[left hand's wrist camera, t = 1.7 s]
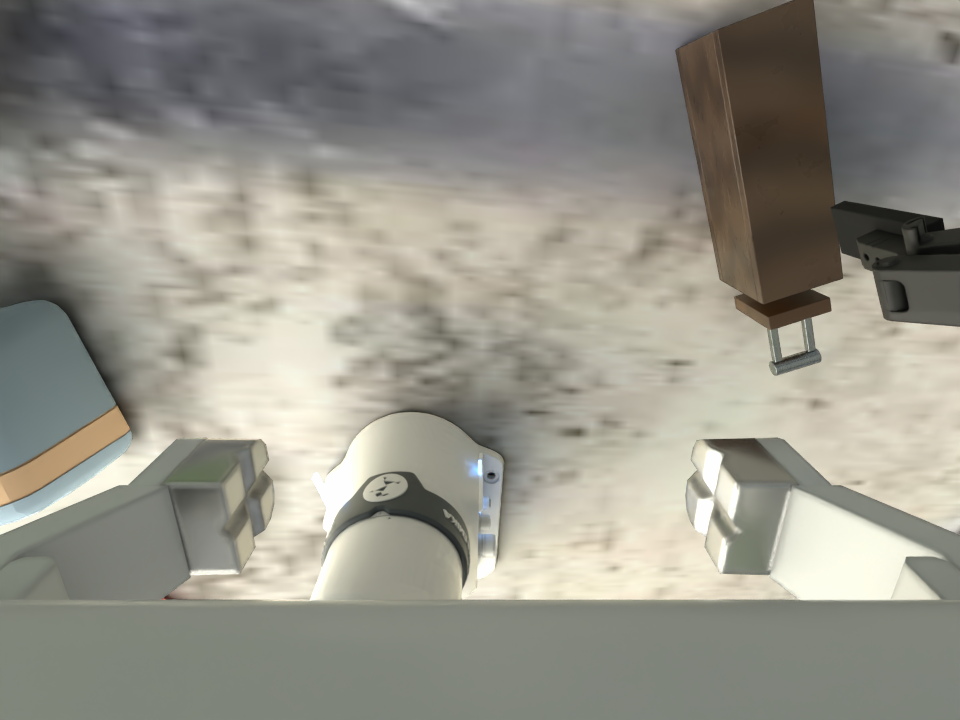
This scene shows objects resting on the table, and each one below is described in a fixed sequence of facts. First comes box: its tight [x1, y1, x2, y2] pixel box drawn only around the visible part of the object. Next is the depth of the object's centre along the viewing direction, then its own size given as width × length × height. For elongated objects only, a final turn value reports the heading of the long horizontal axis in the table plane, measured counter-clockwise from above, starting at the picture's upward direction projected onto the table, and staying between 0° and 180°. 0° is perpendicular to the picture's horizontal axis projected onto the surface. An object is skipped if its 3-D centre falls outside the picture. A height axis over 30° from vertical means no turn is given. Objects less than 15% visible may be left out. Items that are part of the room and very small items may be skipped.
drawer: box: [734, 289, 831, 376], centre depth 43 cm, size 24×5×6 cm, turn 20°
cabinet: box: [676, 0, 843, 304], centre depth 41 cm, size 19×6×8 cm, turn 20°
